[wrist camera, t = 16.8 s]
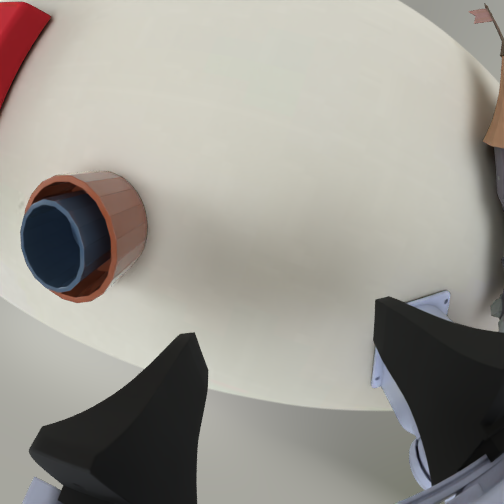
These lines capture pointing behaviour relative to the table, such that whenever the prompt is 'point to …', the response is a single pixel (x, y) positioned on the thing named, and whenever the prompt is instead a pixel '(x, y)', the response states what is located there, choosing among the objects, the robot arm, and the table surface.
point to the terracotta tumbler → (117, 219)
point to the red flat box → (17, 38)
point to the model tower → (496, 146)
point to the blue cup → (64, 240)
